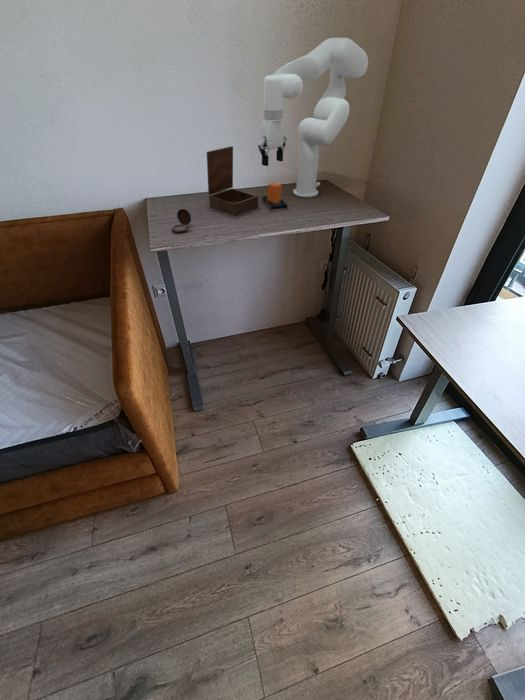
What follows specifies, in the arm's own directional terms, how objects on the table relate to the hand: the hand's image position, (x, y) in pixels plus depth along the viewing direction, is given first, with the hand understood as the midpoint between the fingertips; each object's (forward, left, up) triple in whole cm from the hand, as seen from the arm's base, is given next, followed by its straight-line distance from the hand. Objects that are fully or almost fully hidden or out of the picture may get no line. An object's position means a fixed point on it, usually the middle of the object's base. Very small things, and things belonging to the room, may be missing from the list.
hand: (272, 163), depth 145 cm
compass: (+46, -7, -18) cm, 50 cm away
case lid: (+16, -16, -3) cm, 23 cm away
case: (+16, -9, -18) cm, 25 cm away
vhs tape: (-1, +1, -18) cm, 18 cm away
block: (0, +1, -16) cm, 16 cm away
